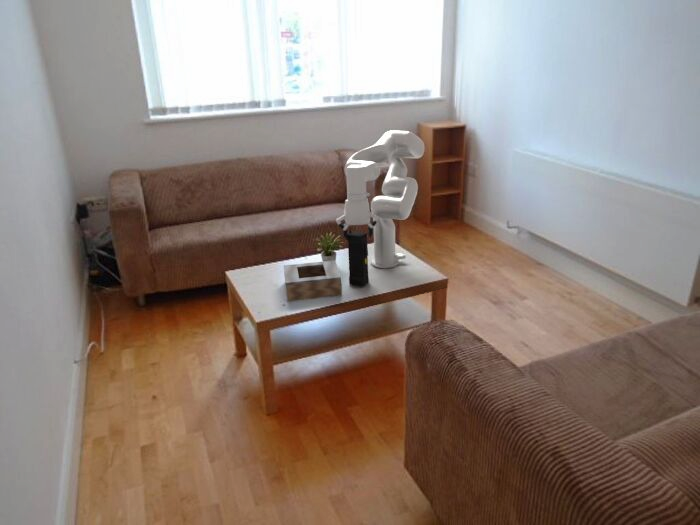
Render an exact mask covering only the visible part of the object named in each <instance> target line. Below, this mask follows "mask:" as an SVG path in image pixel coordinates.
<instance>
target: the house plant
mask: <svg viewBox="0 0 700 525" xmlns="http://www.w3.org/2000/svg"><path fill="white" fill-rule="evenodd" d="M335 235H336V233H334V234H333V235H332V231H331V232H330V233H329V234H328V232H326V239H325V236H323V235H322V234H320V236H318V237H316V238H315V239H314V240H316V241H318V244H317V245H319V246H320V247H318V248H317V249H316V251H317V252H320V251H322V252H321V253H320V256H321V262H324V261H334V260H335V262H336V260H337V251H335V250H342V248H343V246H342V245H341V244H344V243H346V242H343V241H342V239H339V238H340V236H342V235H338V236H336V238H334V237H335ZM319 237H320V238H321V239H322V240H321V239H320V238H319ZM333 238H334V239H333ZM332 239H333V241H332ZM340 240H341V241H340ZM338 244H339V245H338ZM321 247H322V248H323V249H322V248H321ZM336 263H337V262H336Z"/></svg>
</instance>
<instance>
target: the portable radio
mask: <svg viewBox="0 0 700 525" xmlns="http://www.w3.org/2000/svg"><path fill="white" fill-rule="evenodd" d="M348 228H349V232H347V234H348V240H346V241H347V245H348V246H347V247H348V249H347V251H348V253H347V254H348V271H349V274H348V275H349V277H348V283H349V285H350V286H353V287H358V288H363V287H365V286H366V285H368V284H369V282H370V280H369V265H368V264H369V263H368V262H369V261H368V260H369V259H368V257H369V250H368V248H369V247H368V232H363V231H359V230H358V231H357V230H351V226H348Z"/></svg>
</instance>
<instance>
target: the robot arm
mask: <svg viewBox="0 0 700 525" xmlns="http://www.w3.org/2000/svg"><path fill="white" fill-rule="evenodd" d="M425 149H426V148H425V143H424V141H423V140H422V139H421V138H420V137H419V136H418V135H416V134H415V133H414V132H412V131H408V130H388V131H386V132H384V133H383V134H382V135H381V137H380V138H379V139H378V140H377V141H376V142H375V143H374V144H373V145H371V146H368V147H366V148H363V149H361V150H359V151H357V152H354V154H352V156H350V158H349V159H348V160H347V162H346V164H345V165H344V174H345V176H346V199H345V200H344V208H343V214H342V215H341V216H339V217H337V218H336V219H335V222H336V224H337V226H338V227H339V228H340V229H341V230H342V235H343V238H344V239H345V241H347V240H348V228H349V227H351V226H353V227H354V226H363V225H367V226H368V227H367V237H368V238H369V239H372V236H373V254H374V255H373V256H374V257H373V258H372V259H371V260H370V264H371V265H372V267H374V268H378V269H392V268H395V267H396V266H398V265H399V263H400V262H399V260H405V259H406V258H407V257H406V254H402V252H401V253H397V252H396V225H395V222H394V221H393V220H397V221H398V220H400V221H401V220H402V221H404V220H406V219H408V218H409V216H410V214H411V211H412V208H413V207H414V204H415V200H416V198H417V195H418V190H419V189H418V188H419V185H418V182H417V180H416V179H415V178H413V177H409V176H407V174H408V167H407V165H406V163H405V162H404V160H403V158H404V159H420V158H422V157H423V155H424V153H425ZM386 162H388V165H389V166H388V169H387V170H388V171H387V172H386V175H385V178H384V180H383V182H382V186H381V193H382V195H377V196H375V197H373V198H372V200H371V202H370V203H369V199H368V197H371V192H368V191H367V182H372V181H375V180H377V179H378V178H379V177H380V175H381V167H380V166H381V165H380V164H384V163H386ZM370 210H371V211H370ZM371 218H372V221H371ZM342 221H344V224H343V223H342Z"/></svg>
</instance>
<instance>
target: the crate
mask: <svg viewBox="0 0 700 525" xmlns="http://www.w3.org/2000/svg"><path fill="white" fill-rule="evenodd" d="M283 274H284V284H285V291H286V293H285V294H286V300H287V302H292V301H302V300H312V299H321V298H330V297H339V296H343V288H342V287H343V286H342V276H341V273H340V270H339V268H338V265H337V262H335V260H334V261H324V262H323V261H315V262H304V263H298V264H297V263H295V264H286V265H283Z"/></svg>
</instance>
